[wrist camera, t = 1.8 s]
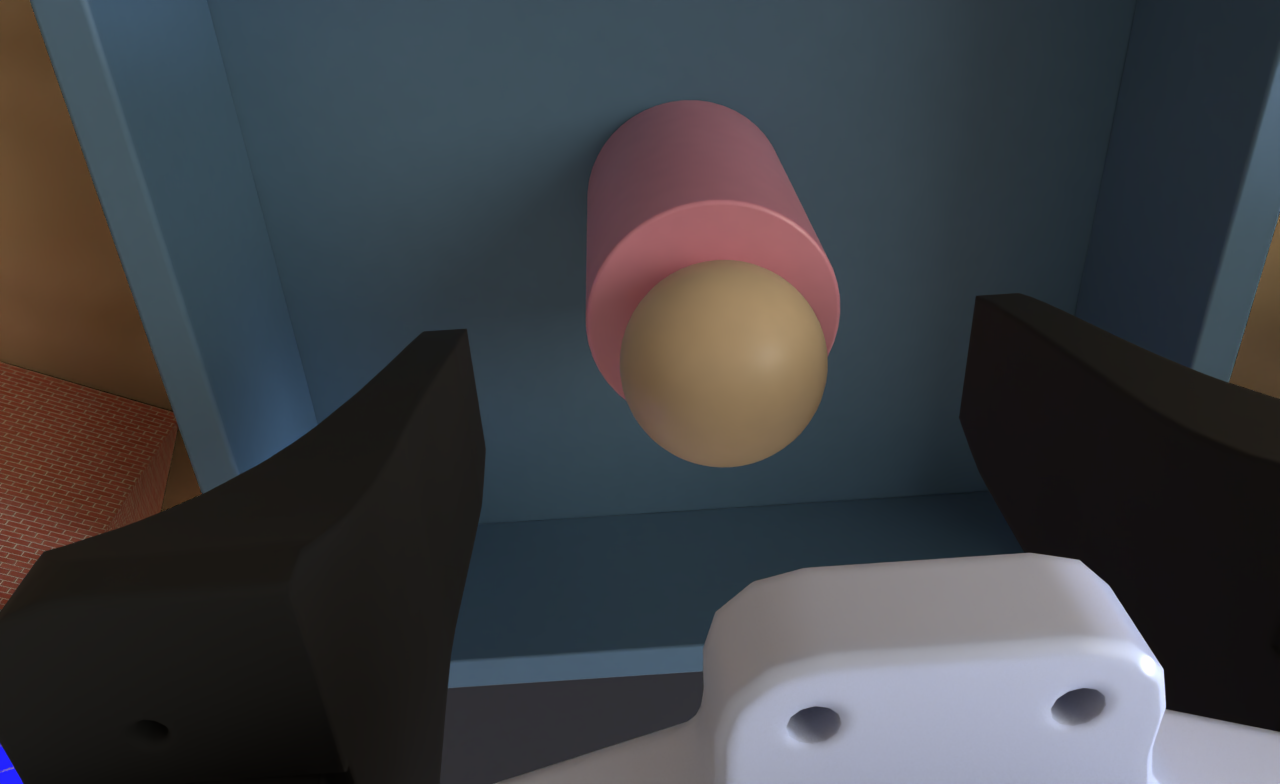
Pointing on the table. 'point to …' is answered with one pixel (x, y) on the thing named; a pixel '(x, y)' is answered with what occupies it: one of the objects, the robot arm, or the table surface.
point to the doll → (706, 285)
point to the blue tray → (557, 248)
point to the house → (72, 471)
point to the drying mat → (556, 721)
